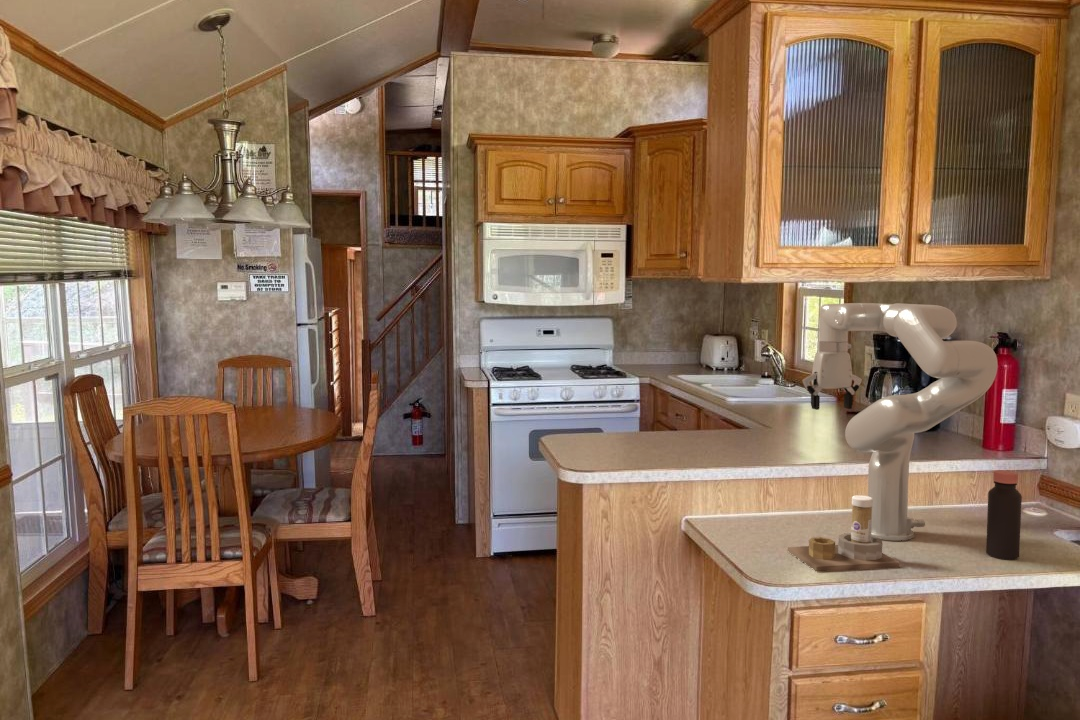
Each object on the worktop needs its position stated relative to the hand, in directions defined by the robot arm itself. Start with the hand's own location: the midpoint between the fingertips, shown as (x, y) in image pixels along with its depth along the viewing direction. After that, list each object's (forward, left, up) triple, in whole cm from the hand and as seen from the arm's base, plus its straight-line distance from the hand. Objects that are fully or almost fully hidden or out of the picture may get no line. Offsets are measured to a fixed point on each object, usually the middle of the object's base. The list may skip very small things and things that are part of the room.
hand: (831, 408), depth 216 cm
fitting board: (+17, +37, -30) cm, 51 cm away
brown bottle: (-22, +40, -31) cm, 55 cm away
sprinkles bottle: (+12, +37, -29) cm, 49 cm away
